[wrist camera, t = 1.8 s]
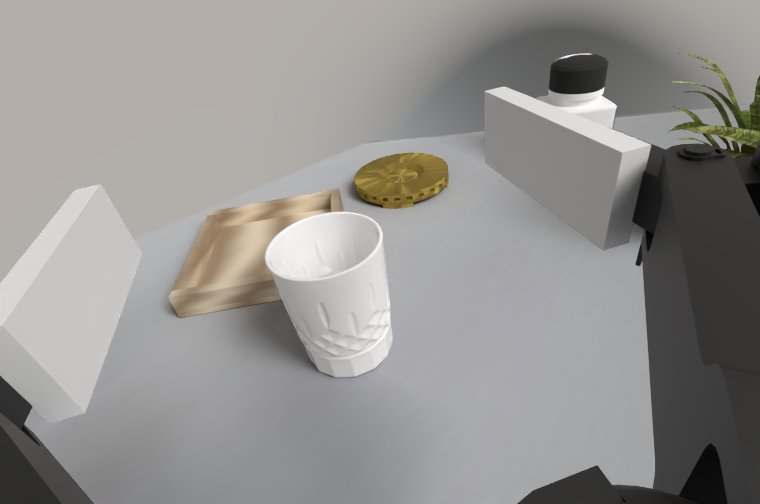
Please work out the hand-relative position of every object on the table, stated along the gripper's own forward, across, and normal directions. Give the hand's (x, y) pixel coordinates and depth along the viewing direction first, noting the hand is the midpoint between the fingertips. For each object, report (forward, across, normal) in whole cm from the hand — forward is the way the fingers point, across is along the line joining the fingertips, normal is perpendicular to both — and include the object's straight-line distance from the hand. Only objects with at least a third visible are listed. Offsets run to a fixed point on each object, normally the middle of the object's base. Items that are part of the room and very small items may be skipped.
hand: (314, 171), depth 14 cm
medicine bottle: (+30, +34, -19) cm, 49 cm away
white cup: (+10, 0, -19) cm, 22 cm away
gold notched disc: (+34, +12, -19) cm, 41 cm away
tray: (+26, -6, -19) cm, 33 cm away
